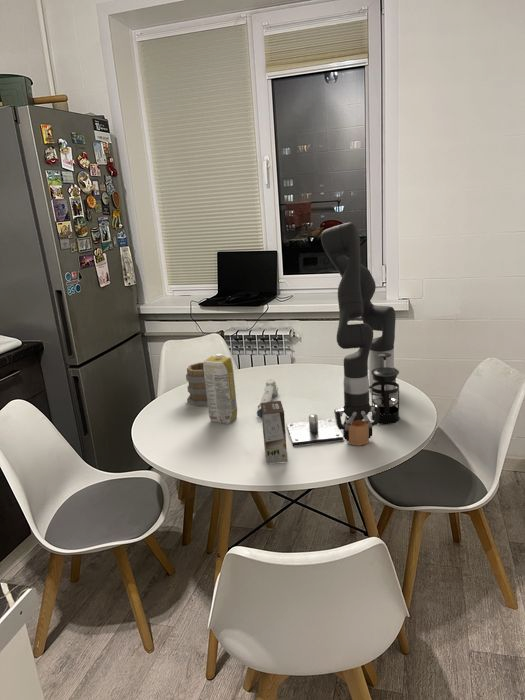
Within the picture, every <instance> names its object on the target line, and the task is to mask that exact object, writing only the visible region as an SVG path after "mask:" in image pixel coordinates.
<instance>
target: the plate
mask: <svg viewBox="0 0 525 700" xmlns="http://www.w3.org/2000/svg"><path fill="white" fill-rule="evenodd" d="M286 430H287V433H288V435H289V438H290V441H291V444H292V446H293V447H296V446H305V445H313V444H321V443H330V442H341V441H344V437H343V433H342V432H341V430H340V429H339V428H338V426H337V424H336V420H334V418H325V419H318V415H317V414H315V413H311V414H308V421H299V422H291V423H286Z"/></svg>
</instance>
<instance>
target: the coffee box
mask: <svg viewBox="0 0 525 700" xmlns="http://www.w3.org/2000/svg"><path fill="white" fill-rule="evenodd" d="M261 413H262V418H261V423H262V424H261V425H262V434H263V443H264V444H263V445H264V454H265V455H264V456H265V460H266V464H267V465H270V464H271V465H273V464H279V463H287V462H288V452H287V451H288V449H287V434H286V421H285V420H286V419H285V418H286V417H285V410H284V408H283V403H282V401H281V400H271V402H265V403H261Z"/></svg>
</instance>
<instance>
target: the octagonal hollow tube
mask: <svg viewBox="0 0 525 700" xmlns="http://www.w3.org/2000/svg"><path fill="white" fill-rule="evenodd" d="M348 430H349V441H347V442H348V444H349V445H354V446H364V445H366V444H367V443H369V442H370V438H369V423H366V421H365V420H364V419H363V420H357V421H353V422H352V424H351V425H350V426H349V429H348Z"/></svg>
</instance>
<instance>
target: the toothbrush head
mask: <svg viewBox="0 0 525 700" xmlns="http://www.w3.org/2000/svg"><path fill="white" fill-rule="evenodd" d="M263 390H264V392H263V394H262V397H261V400H260V402H259V404H258V405H257V411H256V413H257V414H256V416H258V418H260V419H262V413H261V403H265V402H271V401H272V399H273V398H274V397H276V396H278V394H279V392H278V391H279V386H278V385H277V383H276V381H275V379H273V378H270V379H268V380H266V383H265V386H264V389H263Z"/></svg>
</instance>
